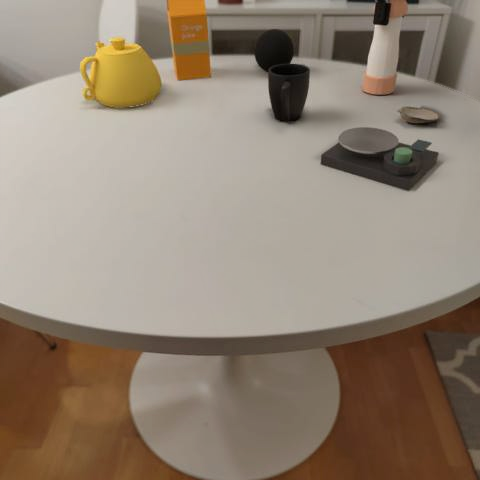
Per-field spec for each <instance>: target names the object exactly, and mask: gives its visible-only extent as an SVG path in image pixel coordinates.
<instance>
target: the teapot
mask: <svg viewBox="0 0 480 480" xmlns="http://www.w3.org/2000/svg"><path fill="white" fill-rule="evenodd" d="M109 42H110V44H108V45H107V44H106V45H105V42H103V41H98V42H97V41H96V42H94V43H95V48H96V52H95V54H94V56H93V55H89V56H86V57H84V58H83V59H82V60H81V61H80V64H79V71H80V74H81V78H82V79H83V81H84V83H85V85H86V87H84V88H83V89H82V96H83V98H84V99H85V100H86V101H94V100H96V101H97V102H99V103H100V104H101V105H102V104H103V105H102V106H104V105H106V106H105V107H107V106H111V107H130V106H136V105H141V104H144V105H146V104H145V103H147V104H149V103H151V102H153V101H155V100H156V98H157V97H158V95H159V94H160V92H161V90H162V87H163V84H162V79H161V76H160V73H159V70H158V68H157V67H156V64H155V63H154V61H153V60H152V58H151V57H150V56H149V55H148V52H147V51H145V50H144V49H143V47H142V46H141V45H140V44H137V43H131V42H127V43H126V38H125V37H122V36H117V37H116V36H115V37H112V38H109ZM89 64H91V66H90V70H89V76H88V72H87V66H88V65H89ZM88 92H89V94H88ZM152 100H153V101H152ZM148 102H149V103H148ZM141 106H142V105H141ZM111 107H110V108H111Z"/></svg>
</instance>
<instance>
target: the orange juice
mask: <svg viewBox="0 0 480 480" xmlns="http://www.w3.org/2000/svg"><path fill="white" fill-rule="evenodd" d="M166 7H167V8H166V9H167V10H166V13H167V19H168V28H169V37H170V38H169V39H170V46H171V53H172V61H173V70H174V74H175V77H176V80H177V81H178V80H180V81H187V79H190V80H196V79H195V78H200V79H206V78H205V77H209V78H212V70H211V69H212V68H211V56H210V41H209V30H208V29H209V27H208V16H207V9H206V2H205V0H166Z"/></svg>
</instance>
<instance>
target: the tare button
mask: <svg viewBox="0 0 480 480" xmlns="http://www.w3.org/2000/svg"><path fill="white" fill-rule="evenodd" d="M411 156H412V150H411V149H409V148H405V147H400V148H397V149H396V150H395V155H394V161H395V162H397V163H402V164H406V163H410V161H411Z"/></svg>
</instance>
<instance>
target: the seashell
mask: <svg viewBox="0 0 480 480" xmlns="http://www.w3.org/2000/svg"><path fill="white" fill-rule="evenodd" d="M396 111H397V113H399V114H400V117H401V119H402V120H403V121H405V122H407V123H410V124H425V123H430V122H431V123H432V122H434V121H437V120H439V119H440V116H439V114H438V113H437V112H435V111H432V110H429V109H425V108H422V107H416V106H402V107H400V108H399V109H397V110H396Z"/></svg>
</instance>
